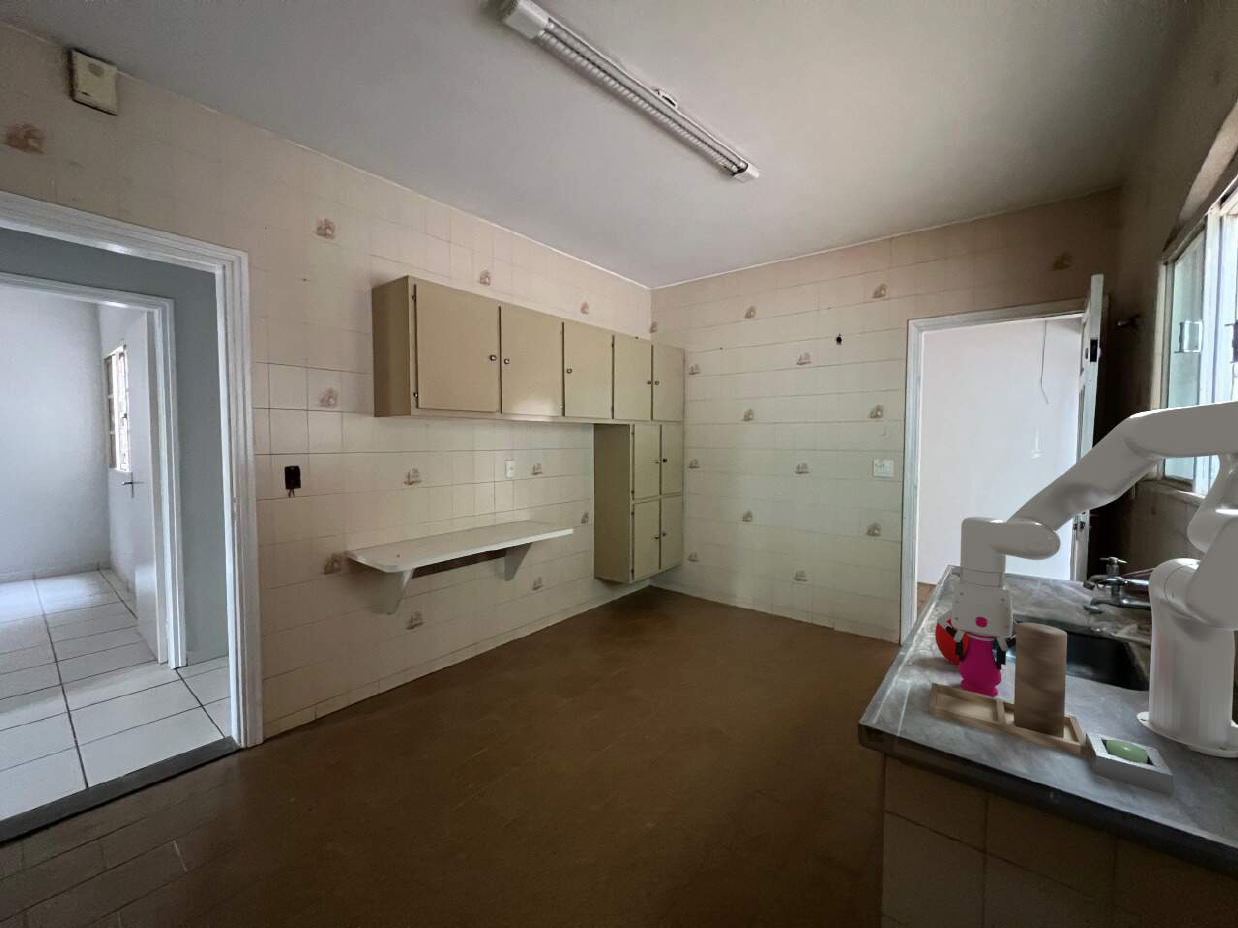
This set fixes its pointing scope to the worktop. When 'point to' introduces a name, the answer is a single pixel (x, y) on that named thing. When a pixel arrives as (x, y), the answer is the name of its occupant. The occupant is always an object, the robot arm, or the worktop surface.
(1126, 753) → the button
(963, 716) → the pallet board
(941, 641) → the tomato
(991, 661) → the pepper mill
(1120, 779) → the button box
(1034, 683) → the seated billet
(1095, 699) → the worktop surface
